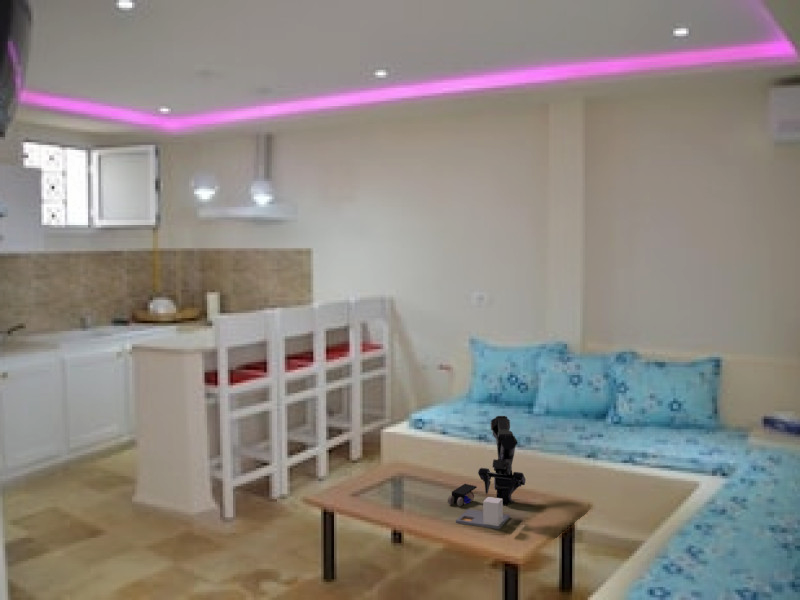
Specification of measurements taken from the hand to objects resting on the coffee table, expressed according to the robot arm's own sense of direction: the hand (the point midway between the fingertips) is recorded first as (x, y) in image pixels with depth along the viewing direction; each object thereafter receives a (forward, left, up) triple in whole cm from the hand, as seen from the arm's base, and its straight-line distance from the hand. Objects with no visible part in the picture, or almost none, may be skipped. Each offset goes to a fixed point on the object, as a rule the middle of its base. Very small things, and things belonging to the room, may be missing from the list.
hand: (497, 495), depth 285 cm
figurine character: (-7, -25, -12) cm, 29 cm away
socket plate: (+4, -4, -12) cm, 13 cm away
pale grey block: (+5, +2, -11) cm, 13 cm away
